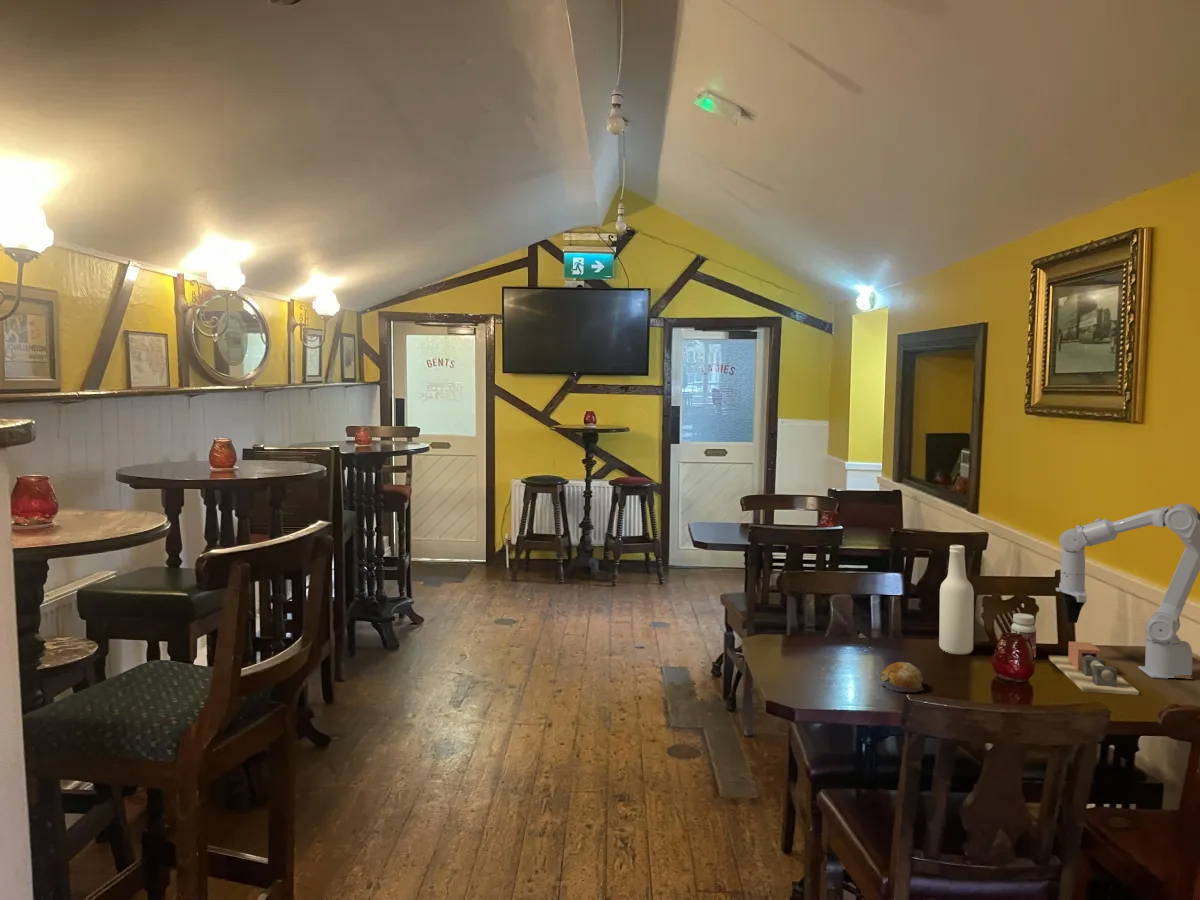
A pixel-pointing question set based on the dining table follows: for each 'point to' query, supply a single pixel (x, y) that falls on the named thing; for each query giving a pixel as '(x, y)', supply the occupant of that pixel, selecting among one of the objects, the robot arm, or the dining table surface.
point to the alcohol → (956, 606)
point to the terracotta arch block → (1078, 649)
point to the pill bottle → (1025, 628)
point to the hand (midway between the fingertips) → (1071, 622)
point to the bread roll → (902, 675)
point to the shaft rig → (1094, 675)
